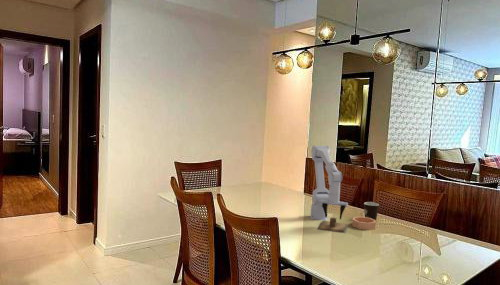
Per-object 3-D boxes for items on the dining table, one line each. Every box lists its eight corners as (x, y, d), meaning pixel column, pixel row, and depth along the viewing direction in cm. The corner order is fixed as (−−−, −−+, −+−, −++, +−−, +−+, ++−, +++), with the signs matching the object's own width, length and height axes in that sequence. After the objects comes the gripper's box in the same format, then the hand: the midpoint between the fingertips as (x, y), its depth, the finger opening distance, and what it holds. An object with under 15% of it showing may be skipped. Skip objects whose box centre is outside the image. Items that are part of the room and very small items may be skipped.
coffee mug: (379, 222, 209) (380, 206, 209) (363, 221, 211) (364, 205, 210) (376, 217, 221) (377, 201, 220) (361, 216, 222) (362, 200, 222)
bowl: (351, 228, 197) (352, 221, 197) (353, 222, 209) (353, 215, 208) (375, 231, 193) (375, 224, 193) (375, 225, 205) (375, 218, 204)
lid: (319, 229, 193) (319, 219, 193) (322, 222, 205) (323, 213, 205) (343, 232, 189) (344, 223, 188) (345, 225, 201) (346, 216, 200)
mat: (316, 230, 192) (316, 229, 192) (321, 222, 207) (321, 221, 206) (345, 234, 187) (345, 233, 187) (347, 226, 201) (347, 225, 201)
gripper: (320, 193, 194) (318, 218, 195) (347, 196, 189) (346, 221, 190) (321, 191, 201) (320, 215, 202) (348, 193, 196) (347, 218, 197)
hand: (333, 218), depth 196 cm, fingers open, 7 cm apart
